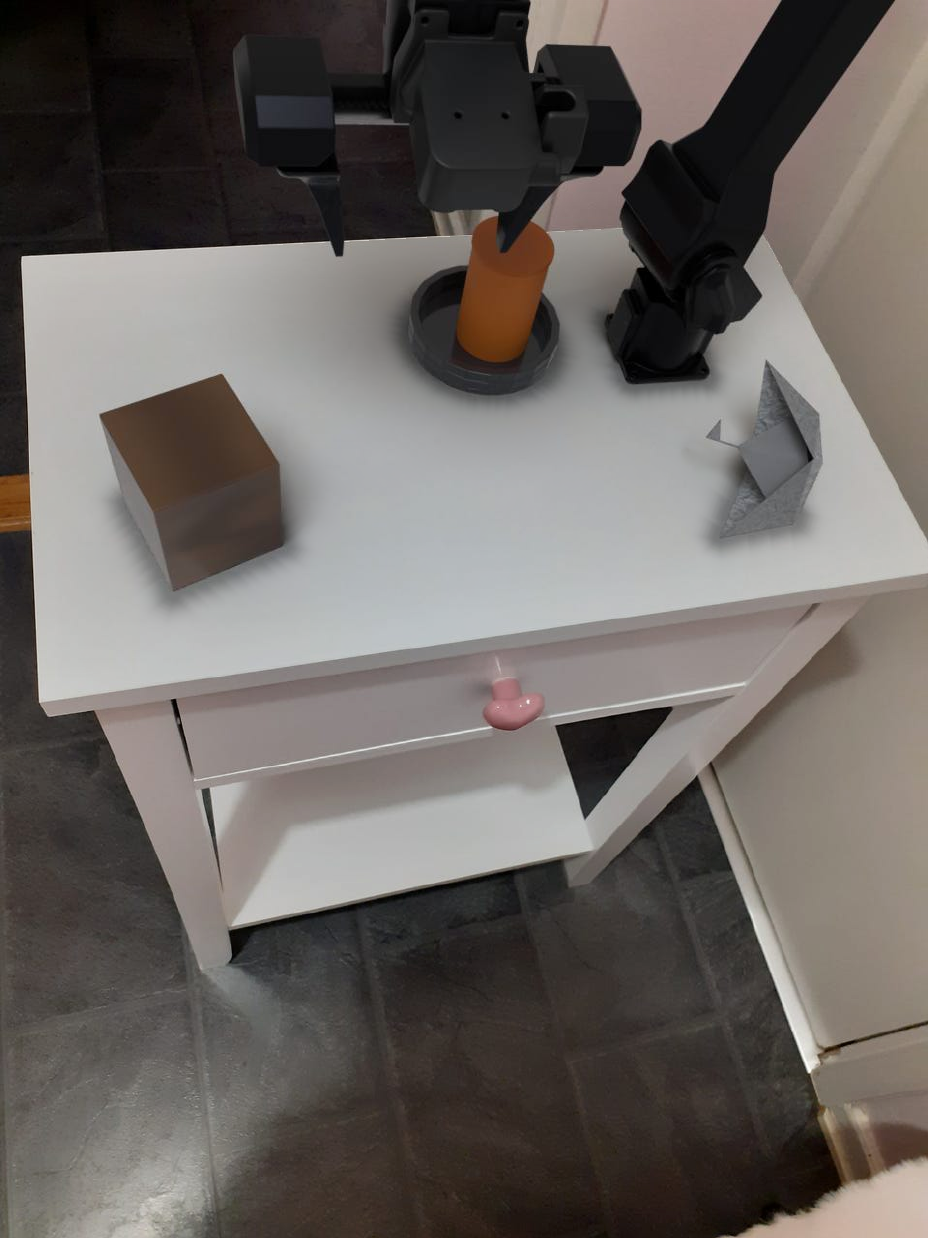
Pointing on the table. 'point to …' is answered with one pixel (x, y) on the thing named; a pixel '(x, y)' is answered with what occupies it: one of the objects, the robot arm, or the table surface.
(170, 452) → the block
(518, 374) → the pan
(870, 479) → the table surface
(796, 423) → the paper boat
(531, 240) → the orange tin can
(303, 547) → the table surface
